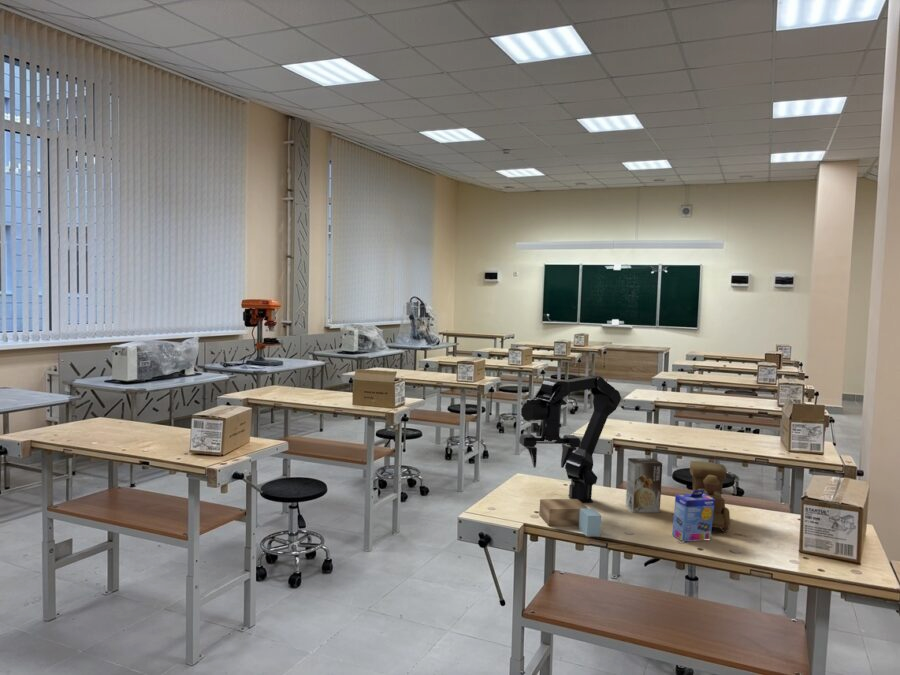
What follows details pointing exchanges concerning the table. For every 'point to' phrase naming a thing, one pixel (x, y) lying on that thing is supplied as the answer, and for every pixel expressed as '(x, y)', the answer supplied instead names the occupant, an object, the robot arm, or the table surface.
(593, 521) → the block
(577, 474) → the robot arm
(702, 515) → the ink cartridge box
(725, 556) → the table surface
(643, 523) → the table surface
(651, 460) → the coffee box
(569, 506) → the brown wooden block
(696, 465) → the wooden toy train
